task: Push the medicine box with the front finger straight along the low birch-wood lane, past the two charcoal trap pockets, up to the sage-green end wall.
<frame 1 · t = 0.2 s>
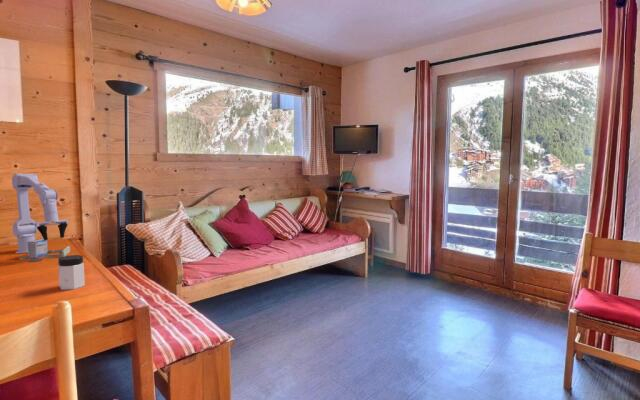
hand: (54, 238, 188), 11 cm above the table, tool pointing down, fingers open, 7 cm apart
medicine box: (38, 256, 194), on the table
trap pockets: (47, 255, 196), resting in channel
channel: (47, 255, 196), on the table
jar: (72, 287, 145), on the table
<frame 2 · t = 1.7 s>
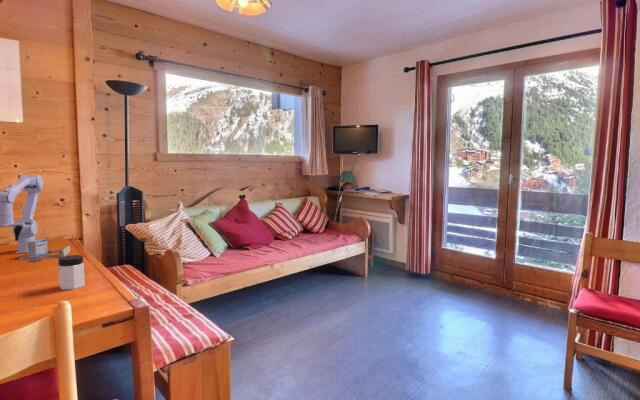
hand: (7, 241, 188), 9 cm above the table, tool pointing down, fingers open, 7 cm apart
nothing on the table moved.
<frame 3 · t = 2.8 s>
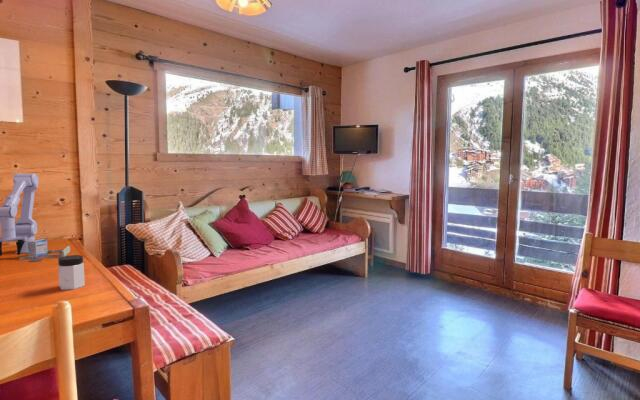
hand: (9, 255, 189), 2 cm above the table, tool pointing down, fingers open, 7 cm apart
nothing on the table moved.
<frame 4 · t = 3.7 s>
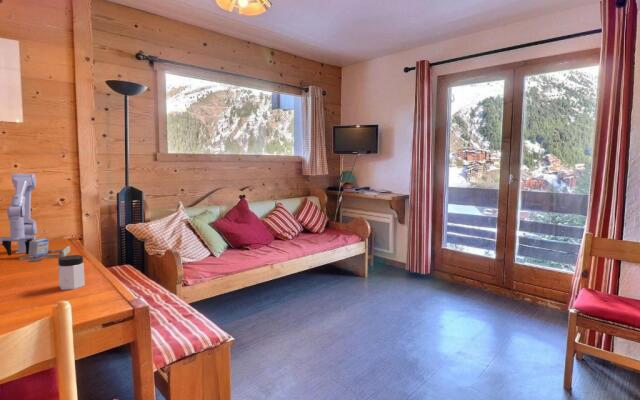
hand: (18, 254, 191), 2 cm above the table, tool pointing down, fingers open, 7 cm apart
medicine box: (38, 255, 194), on the table, touching gripper
everything else where it was.
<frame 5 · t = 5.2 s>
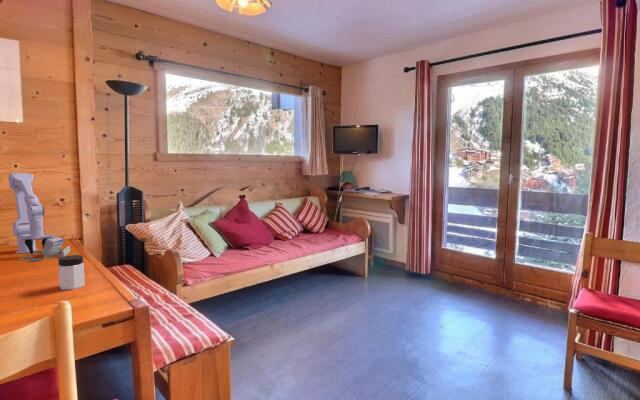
hand: (38, 253, 194), 2 cm above the table, tool pointing down, fingers open, 5 cm apart
medicine box: (50, 254, 196), point 1 cm above the table, touching gripper
everything else where it was.
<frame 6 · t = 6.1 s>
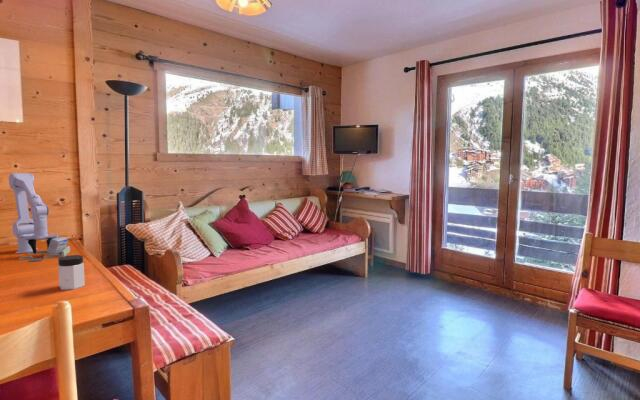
hand: (42, 252, 195), 2 cm above the table, tool pointing down, fingers open, 5 cm apart
medicine box: (55, 253, 197), point 1 cm above the table, touching gripper
everything else where it was.
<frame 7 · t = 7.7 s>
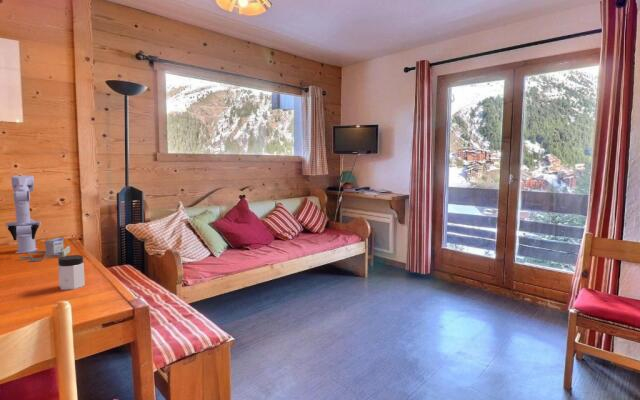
hand: (24, 239, 192), 9 cm above the table, tool pointing down, fingers open, 7 cm apart
medicine box: (55, 255, 197), on the table
everything else where it was.
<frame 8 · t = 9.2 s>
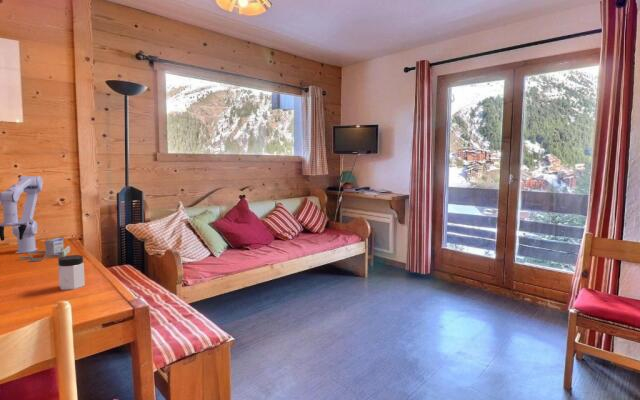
hand: (11, 239, 190), 9 cm above the table, tool pointing down, fingers open, 7 cm apart
nothing on the table moved.
at the end: medicine box 0.6 cm from the target spot, on the table; medicine box tilted 0°; medicine box moved 7.4 cm from its start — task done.
